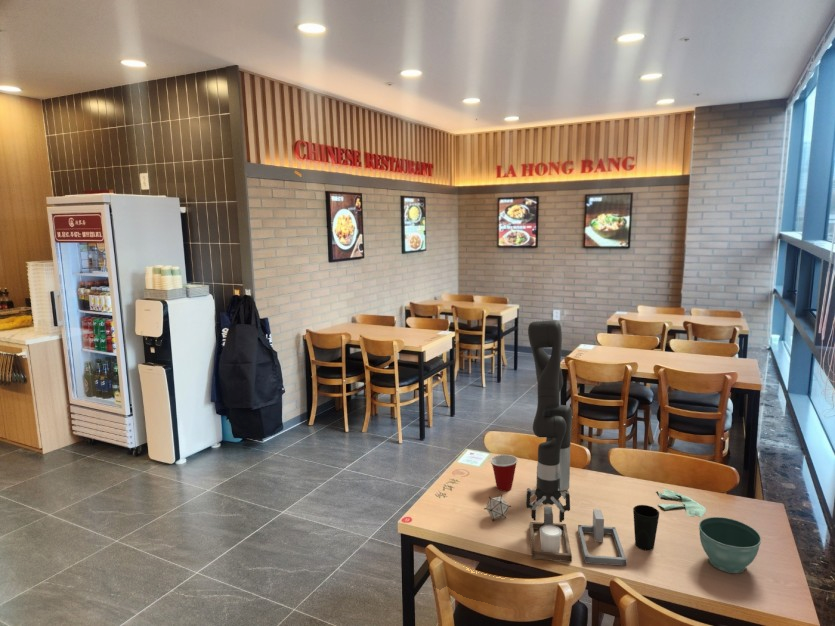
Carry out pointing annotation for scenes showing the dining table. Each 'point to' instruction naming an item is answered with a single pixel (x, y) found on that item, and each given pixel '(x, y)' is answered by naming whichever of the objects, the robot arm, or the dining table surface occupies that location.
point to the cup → (645, 526)
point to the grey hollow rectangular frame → (598, 533)
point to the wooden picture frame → (550, 555)
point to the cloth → (690, 504)
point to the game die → (497, 507)
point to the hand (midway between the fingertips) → (547, 520)
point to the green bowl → (729, 543)
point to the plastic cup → (504, 471)
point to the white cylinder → (550, 538)
